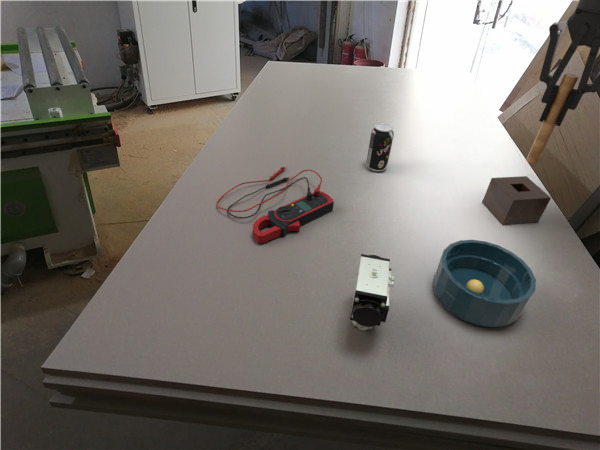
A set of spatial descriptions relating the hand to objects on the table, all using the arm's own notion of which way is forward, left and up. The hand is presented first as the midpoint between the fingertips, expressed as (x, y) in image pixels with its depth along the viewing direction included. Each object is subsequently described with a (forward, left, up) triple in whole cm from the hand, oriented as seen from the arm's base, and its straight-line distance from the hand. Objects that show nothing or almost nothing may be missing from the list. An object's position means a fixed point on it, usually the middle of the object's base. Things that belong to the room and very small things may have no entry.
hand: (550, 121), depth 80 cm
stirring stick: (0, 0, -9) cm, 9 cm away
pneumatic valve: (+42, +25, -24) cm, 55 cm away
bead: (+21, +22, -21) cm, 37 cm away
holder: (-2, -2, -24) cm, 24 cm away
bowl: (+20, +22, -24) cm, 38 cm away
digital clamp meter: (+53, -11, -24) cm, 59 cm away
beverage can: (+24, -25, -24) cm, 42 cm away
